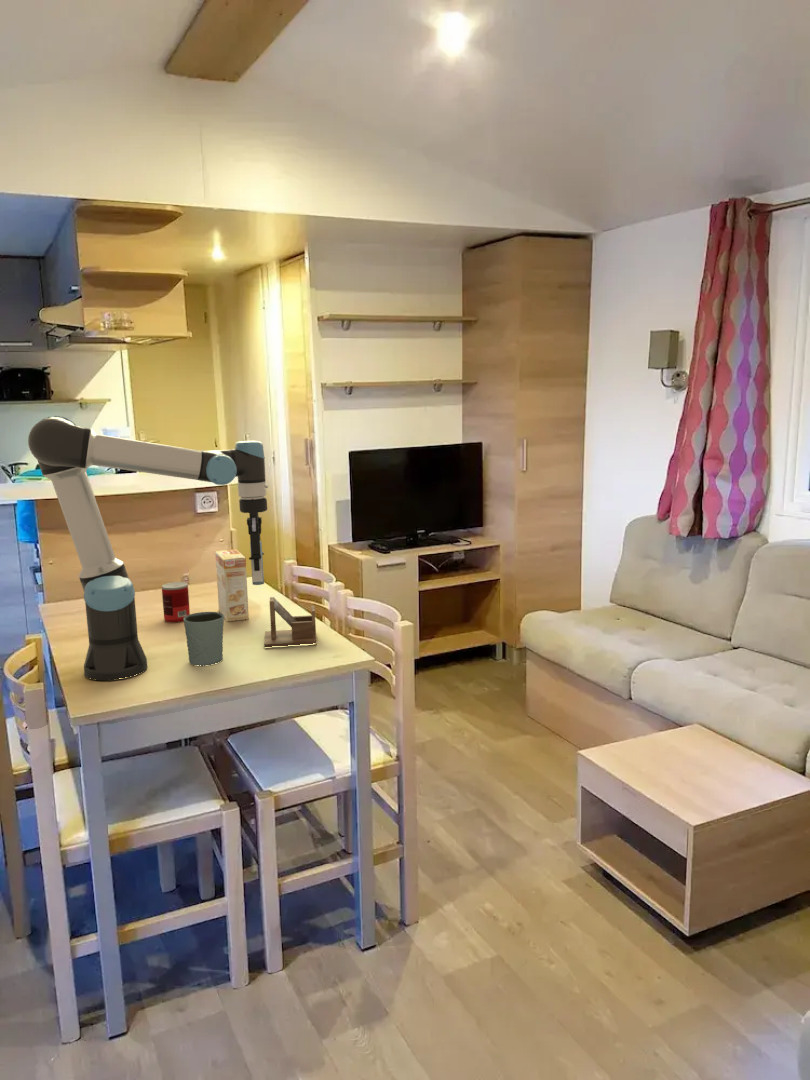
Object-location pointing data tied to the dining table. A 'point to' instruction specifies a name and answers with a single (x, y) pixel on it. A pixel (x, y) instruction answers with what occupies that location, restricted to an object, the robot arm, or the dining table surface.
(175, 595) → the canned food
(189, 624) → the grey-green cup
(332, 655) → the dining table surface
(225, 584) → the coffeecake box
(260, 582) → the peg
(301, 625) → the socket cradle
